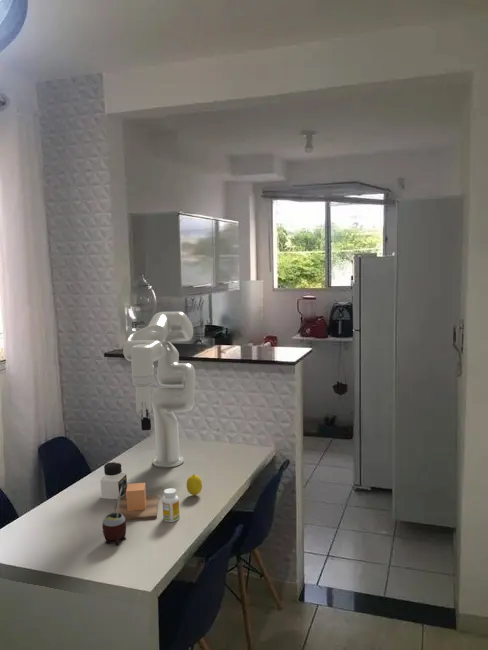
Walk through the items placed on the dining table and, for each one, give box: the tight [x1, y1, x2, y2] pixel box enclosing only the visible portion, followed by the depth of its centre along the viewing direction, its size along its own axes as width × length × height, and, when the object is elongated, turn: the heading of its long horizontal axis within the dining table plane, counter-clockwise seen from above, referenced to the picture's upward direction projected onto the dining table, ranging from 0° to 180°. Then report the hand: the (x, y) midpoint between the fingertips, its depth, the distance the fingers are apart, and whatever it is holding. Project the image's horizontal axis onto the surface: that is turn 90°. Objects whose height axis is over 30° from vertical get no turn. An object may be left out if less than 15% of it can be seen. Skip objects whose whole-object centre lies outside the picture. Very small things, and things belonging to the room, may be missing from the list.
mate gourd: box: [102, 487, 127, 547], centre depth 172 cm, size 8×8×15 cm
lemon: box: [186, 474, 203, 497], centre depth 202 cm, size 6×6×8 cm
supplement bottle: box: [161, 487, 180, 523], centre depth 186 cm, size 5×5×10 cm
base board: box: [114, 494, 159, 522], centre depth 194 cm, size 16×14×1 cm
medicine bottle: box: [99, 461, 128, 500], centre depth 205 cm, size 7×7×12 cm
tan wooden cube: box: [125, 482, 147, 511], centre depth 193 cm, size 6×6×7 cm
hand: (146, 429), depth 201 cm, fingers closed
